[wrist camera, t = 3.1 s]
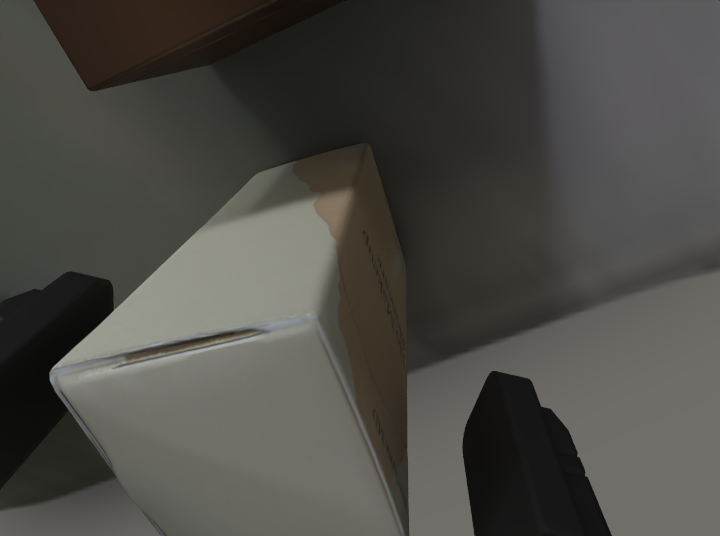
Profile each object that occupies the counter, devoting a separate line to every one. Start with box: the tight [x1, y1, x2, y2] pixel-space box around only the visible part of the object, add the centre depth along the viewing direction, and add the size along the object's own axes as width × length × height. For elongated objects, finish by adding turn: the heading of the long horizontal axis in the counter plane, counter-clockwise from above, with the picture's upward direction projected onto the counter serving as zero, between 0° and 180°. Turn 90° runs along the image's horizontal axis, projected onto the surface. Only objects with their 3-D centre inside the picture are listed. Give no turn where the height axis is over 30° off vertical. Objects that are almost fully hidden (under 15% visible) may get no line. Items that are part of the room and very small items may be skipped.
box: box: [49, 142, 409, 536], centre depth 12 cm, size 5×4×11 cm
